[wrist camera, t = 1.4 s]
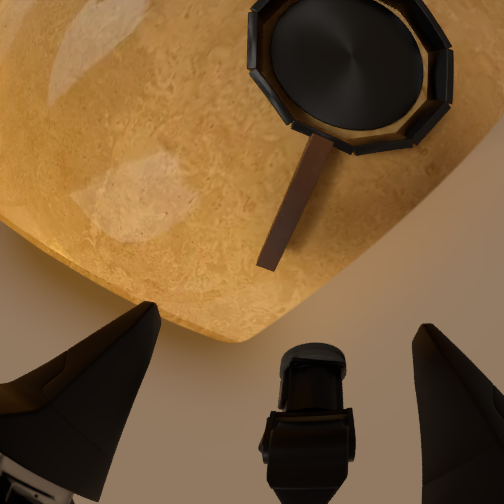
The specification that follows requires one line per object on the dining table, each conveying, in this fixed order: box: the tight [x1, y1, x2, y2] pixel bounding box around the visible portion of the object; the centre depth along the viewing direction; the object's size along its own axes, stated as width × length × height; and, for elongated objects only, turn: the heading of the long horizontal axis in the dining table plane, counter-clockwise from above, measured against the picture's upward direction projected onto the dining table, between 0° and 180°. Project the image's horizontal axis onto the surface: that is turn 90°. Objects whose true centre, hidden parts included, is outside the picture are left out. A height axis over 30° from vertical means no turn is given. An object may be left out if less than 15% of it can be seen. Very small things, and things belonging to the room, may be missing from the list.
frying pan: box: [247, 0, 454, 272], centre depth 15 cm, size 23×14×4 cm, turn 161°
